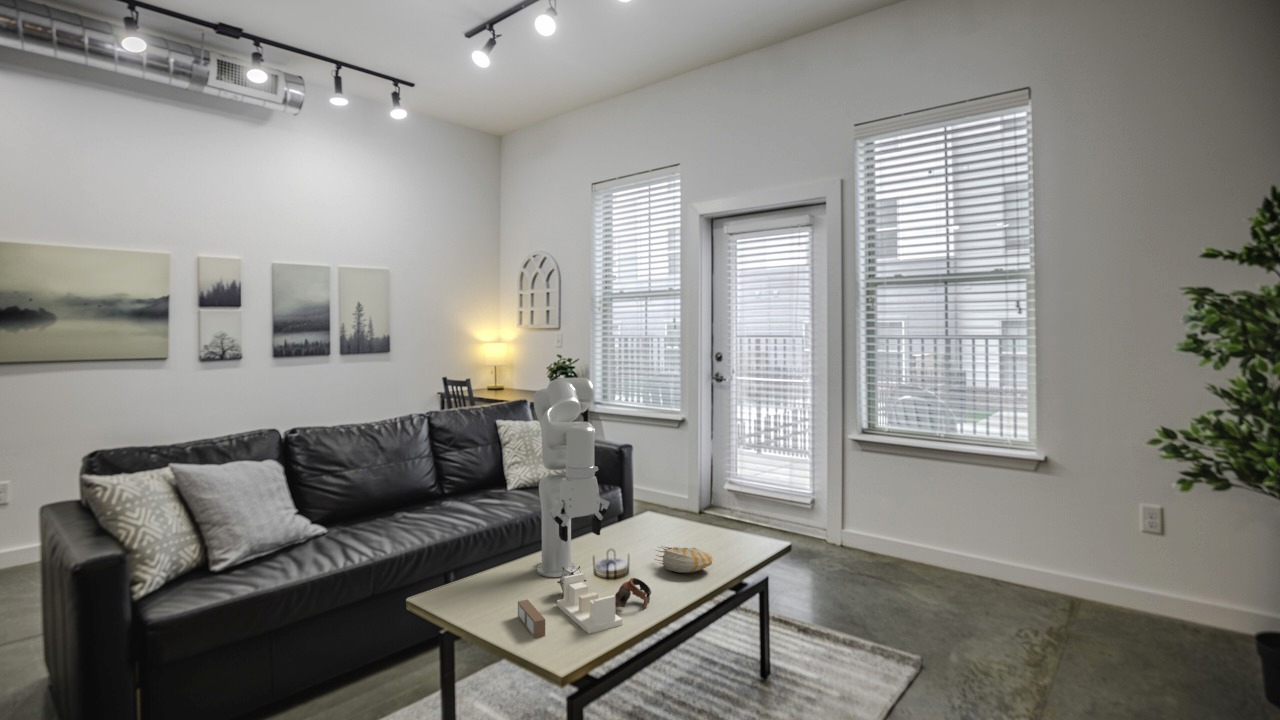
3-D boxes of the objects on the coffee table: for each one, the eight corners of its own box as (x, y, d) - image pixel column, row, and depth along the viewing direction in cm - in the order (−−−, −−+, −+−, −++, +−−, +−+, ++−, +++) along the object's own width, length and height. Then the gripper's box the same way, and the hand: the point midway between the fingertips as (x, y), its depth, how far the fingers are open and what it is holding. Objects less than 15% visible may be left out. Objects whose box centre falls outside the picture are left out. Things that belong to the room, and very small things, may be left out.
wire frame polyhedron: (564, 607, 187) (546, 577, 188) (586, 590, 192) (568, 561, 193) (574, 602, 179) (555, 572, 181) (597, 584, 184) (578, 555, 186)
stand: (556, 605, 179) (556, 578, 178) (588, 598, 184) (588, 571, 184) (588, 633, 162) (588, 603, 161) (622, 624, 167) (622, 595, 167)
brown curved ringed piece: (623, 596, 186) (637, 573, 186) (645, 618, 181) (660, 595, 181) (600, 600, 176) (615, 576, 176) (623, 623, 171) (639, 598, 171)
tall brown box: (517, 617, 171) (517, 601, 171) (528, 615, 173) (528, 599, 173) (534, 639, 159) (534, 621, 159) (545, 636, 161) (545, 619, 160)
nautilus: (641, 568, 210) (671, 559, 220) (690, 581, 195) (720, 571, 205) (641, 544, 210) (671, 536, 221) (690, 556, 195) (720, 547, 206)
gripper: (601, 466, 173) (601, 528, 173) (544, 473, 163) (544, 539, 164) (615, 471, 167) (615, 535, 167) (556, 479, 157) (556, 546, 158)
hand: (580, 537), depth 166 cm, fingers open, 9 cm apart
